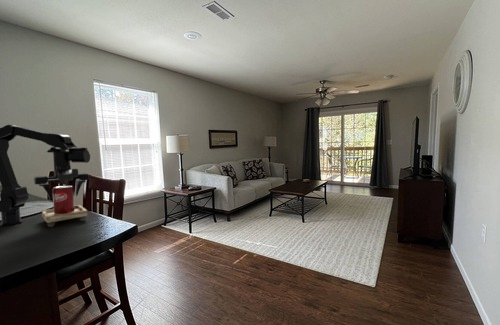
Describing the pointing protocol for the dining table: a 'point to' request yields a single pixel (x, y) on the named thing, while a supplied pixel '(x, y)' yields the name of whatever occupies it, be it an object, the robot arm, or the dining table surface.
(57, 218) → the dolly
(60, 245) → the dining table surface
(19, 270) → the dining table surface
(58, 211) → the soda can
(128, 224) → the dining table surface
